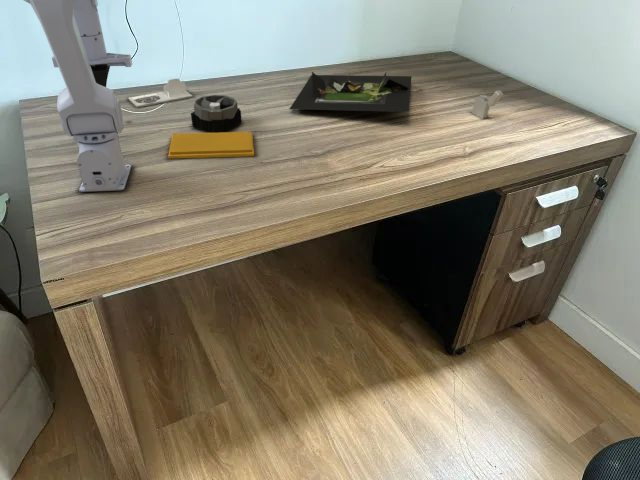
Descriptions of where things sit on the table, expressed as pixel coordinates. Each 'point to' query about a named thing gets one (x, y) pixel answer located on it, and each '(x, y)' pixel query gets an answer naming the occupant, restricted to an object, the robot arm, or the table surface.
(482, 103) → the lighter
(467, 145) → the table surface
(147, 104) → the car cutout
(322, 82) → the black plate with food
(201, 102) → the cpu cooler
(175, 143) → the tray
